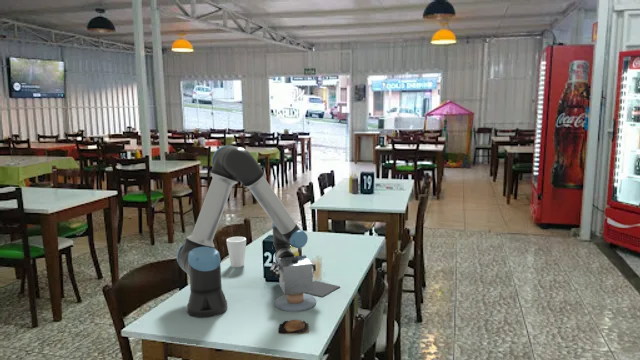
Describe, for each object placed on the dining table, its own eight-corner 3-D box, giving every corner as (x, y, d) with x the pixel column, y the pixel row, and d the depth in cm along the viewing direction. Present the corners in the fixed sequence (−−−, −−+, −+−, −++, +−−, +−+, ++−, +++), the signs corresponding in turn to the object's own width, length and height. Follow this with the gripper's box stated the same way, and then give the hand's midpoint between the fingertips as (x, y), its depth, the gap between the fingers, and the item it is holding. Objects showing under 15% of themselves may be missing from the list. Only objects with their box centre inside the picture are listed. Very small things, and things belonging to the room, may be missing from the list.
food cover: (313, 291, 195) (311, 259, 193) (284, 294, 192) (283, 262, 190) (306, 281, 205) (305, 251, 203) (279, 284, 203) (278, 254, 200)
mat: (322, 297, 205) (322, 296, 205) (296, 290, 212) (296, 290, 212) (339, 287, 215) (339, 286, 215) (315, 281, 223) (315, 280, 223)
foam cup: (249, 262, 252) (248, 236, 250) (244, 268, 242) (243, 242, 240) (230, 262, 253) (229, 236, 250) (225, 268, 243) (224, 241, 241)
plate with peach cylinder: (299, 315, 188) (298, 303, 188) (266, 305, 198) (266, 294, 197) (323, 300, 201) (323, 289, 201) (292, 292, 210) (291, 281, 210)
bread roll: (308, 324, 182) (308, 314, 181) (308, 335, 173) (308, 325, 173) (279, 325, 181) (278, 315, 181) (277, 336, 173) (277, 326, 173)
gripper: (313, 264, 218) (327, 282, 197) (259, 271, 213) (267, 289, 192) (313, 247, 217) (326, 263, 196) (258, 253, 211) (266, 270, 190)
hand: (297, 276), depth 194 cm, fingers closed on food cover, 11 cm apart
